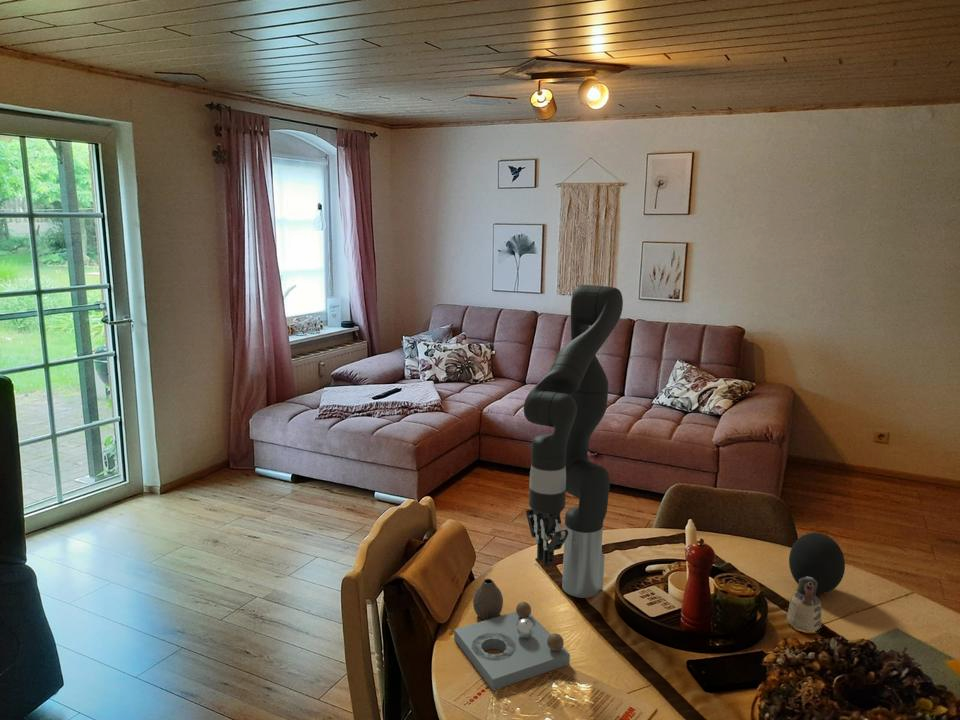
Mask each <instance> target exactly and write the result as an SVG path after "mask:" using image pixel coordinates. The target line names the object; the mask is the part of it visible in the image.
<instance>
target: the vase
mask: <svg viewBox="0 0 960 720" xmlns="http://www.w3.org/2000/svg"><path fill="white" fill-rule="evenodd" d="M502 593H503V592H502V591H501V590H500V588H499V587H498V585H496V583H495V582H494V580H493V579H491V578H485V579H483V581H482V582H481V584H480V585H479V586H478V587H477V588H476V589H475V592H474V594H473V600H472V606H473V609H474V612H475V614H476V615H477V616H478V617H479V618H480V619H482V621H485V620H488V619H492V618H495V617H498V616H500V614H501V612H502V610H503V605H504V597H503V594H502Z"/></svg>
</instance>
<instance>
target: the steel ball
mask: <svg viewBox="0 0 960 720" xmlns="http://www.w3.org/2000/svg"><path fill="white" fill-rule="evenodd" d="M516 632H517V634H518V636H520V637H521V638H525V639H526V638H529V637H531V636H532V635H533V633H534V624H533V623H532V621H531V620H529V619H526V618H524V619H521V620H519V621H518V622H517V624H516Z"/></svg>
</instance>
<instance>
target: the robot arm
mask: <svg viewBox="0 0 960 720" xmlns="http://www.w3.org/2000/svg"><path fill="white" fill-rule="evenodd" d="M623 299H624V298H623V294H622V292H621V290H620V289H619V288H616V287H615V286H614V287H613V286H607V285H605V286H604V285H595V284H594V285H591V284H579V285H576V287H575V288H574V289H573V291H572V297H571V300H570V302H571V303H570V341H569V342H568V343H566V345H564V346H563V347H562V348H561V350H560V351H558V353H557V355H556V358H554V362H553V363H552V365H551V367H550V369H549V371H548V373H547V374H546V375H544V376H543V378H541V380H540V381H539V382H538V383H537V384H536V385H534V387H533V388H531V390H530V391H529V393H528V394H527V396H526V398H525V401H524V403H523V413H524V414H523V415H524V417H525V419H526V421H528V422H529V423H531V424H534V425H537V426H538V425H539V426H546V427H550V428H554V432H553V433H547V434H546V433H545V434H539V435H537V436H535V437H534V438H533V440H532V441H531V459H530V461H531V462H530V463H531V465H530V471H529V484H528V485H529V488H528V489H529V492H528V493H529V494H528V495H529V496H528V506H529V507H530V508H529V509H526V510H525V514H526V519H527V522H528V523H527V524H528V526H529V531H530V535H531V537H532V538H535V539H534V541H535V544H537V545H536V547H537V548H536V551H537V552H536V559H537V561H539V562H542V564H543V566H545V567H547V566H552V565H553V564H554V563H555V562H554V561H555V560H554V558H555V557H554V556H555V551H557V550H561V549H562V547H563V561H562V579H561V580H562V582H561V583H562V585H561V586H562V589H563V591H564V592H565V593H566V594H567V595H569V596H571V597H575V598H578V599H579V598H582V599H584V598H585V599H589V598H592V597H595V596H598V594H599V593H600V591H602V589H604V575H605V559H606V558H605V554H604V552H603V551H602V549H603V548H602V547H603V530H604V527H603V526H604V520H605V518H606V516H607V512H608V504H609V503H608V502H609V494H610V486H611V485H610V482H611V479H610V474H609V472H608V470H607V469H606V468H605V467H603V466H602V465H599V464H597V463H595V462H593V461H591V460H589V444H590V439H591V436H592V434H593V432H594V431H595V429H596V428H598V427H597V426H598V425H599V424H600V422H602V419H603V417H604V416H605V414H606V412H607V406H608V397H609V381H608V377H607V375H606V372H605V370H604V368H603V366H602V365H601V362H600V361H599V358H598V357H597V355H596V354H597V353H598V351H599V350H600V349H601V348H602V346H603V345H604V343H605V342H606V341H607V339H608V338H609V336H610V335H611V333H612V332H613V330H614V329H615V327H616V326H617V324H618V322H619V321H620V319H621V316H622V312H623V305H624V300H623ZM589 326H590V327H589ZM567 494H569V495H571V496H573V497H575V498H577V499H579V501H578V506H574V507H572V508H569V509H568V510H566V512H565V516H564V529H563V527H562V526H561V525H562V518H561V513H562V511H563V510H564V509H565V508H566V498H567V497H566V495H567ZM549 541H550V542H549Z"/></svg>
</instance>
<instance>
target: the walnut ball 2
mask: <svg viewBox="0 0 960 720" xmlns="http://www.w3.org/2000/svg"><path fill="white" fill-rule="evenodd" d="M550 634H551V635H550V636H549V637H548V640H547V644H548V647H549V648H550V649H551V650H553V651H559V650H560V649H561V648H562V647H564V643H565V641H564V638H563V637H562V635H561V634H559V633H556V632H555V633H550Z"/></svg>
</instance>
